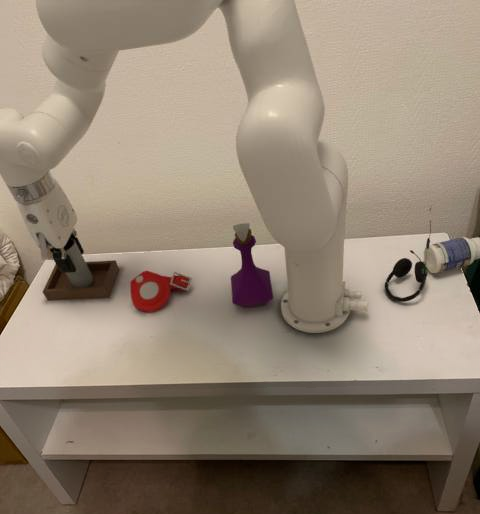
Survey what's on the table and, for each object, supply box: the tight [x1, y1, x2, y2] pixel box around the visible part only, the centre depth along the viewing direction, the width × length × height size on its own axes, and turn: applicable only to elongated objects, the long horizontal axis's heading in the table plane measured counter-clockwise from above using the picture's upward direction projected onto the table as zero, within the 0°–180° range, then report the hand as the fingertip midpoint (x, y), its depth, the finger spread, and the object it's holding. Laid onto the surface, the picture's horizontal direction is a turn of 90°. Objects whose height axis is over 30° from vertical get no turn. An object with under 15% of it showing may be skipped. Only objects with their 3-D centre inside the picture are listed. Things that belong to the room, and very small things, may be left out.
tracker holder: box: [129, 270, 193, 313], centre depth 96 cm, size 12×4×10 cm
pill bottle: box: [423, 236, 480, 274], centre depth 89 cm, size 5×5×10 cm
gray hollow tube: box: [53, 237, 93, 288], centre depth 97 cm, size 4×4×10 cm
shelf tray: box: [42, 259, 120, 301], centre depth 101 cm, size 14×9×3 cm, turn 86°
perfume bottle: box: [230, 222, 274, 309], centre depth 86 cm, size 8×8×18 cm
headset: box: [384, 205, 432, 303], centre depth 86 cm, size 7×7×20 cm
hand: (72, 261), depth 97 cm, fingers closed on gray hollow tube, 4 cm apart
